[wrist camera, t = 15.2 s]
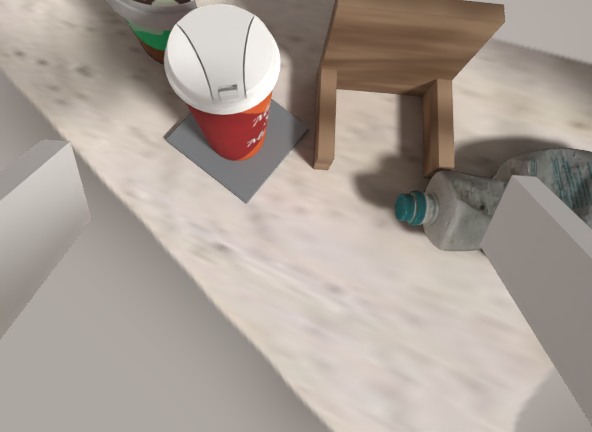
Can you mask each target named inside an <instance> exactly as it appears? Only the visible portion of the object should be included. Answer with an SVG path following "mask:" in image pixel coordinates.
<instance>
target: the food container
mask: <svg viewBox="0 0 592 432" xmlns="http://www.w3.org/2000/svg"><path fill="white" fill-rule="evenodd" d="M105 2H106V3H107V4H108V5H109V6H110V7H111V8H112V9H113V10H114V11H115V12H116V13H118V14H119V15H120V16H122V17H123V18H125V19H126V21H127V22H128V24H129V25H130V27H131V28H132V30H133V32H134V33H135V35H136V36H137V38H138V39H139V41H140V42H141V44H142V46H143V47H144V49H145V50H146V52H147V53H148V54H149V55H150V56H151V57H152V58H153V59H155V60H156V61H157V62H159V63H161V64H163V65H164V56H165V50H166V46H167V42H168V39H169V35H170V33H171V31H172V29H173V27H174V26H175V24H176V25H177V22H178V21H180V20H181V19H182V18H183V17H184V16H185V15H187V14H188V13H189V12H191V11H192V10H194V9H196V8H197V6H196V2H195V0H193V1H191V0H105Z"/></svg>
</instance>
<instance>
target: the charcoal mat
mask: <svg viewBox="0 0 592 432" xmlns="http://www.w3.org/2000/svg"><path fill="white" fill-rule="evenodd" d="M308 128H309V127H308V126H306V125H305V124H304V123H302V122H301V121H300V120H299V119H297V118H296V117H295V116H293V115H292V114H291V113H289V112H288V111H287V110H285V109H284V108H283V107H282V106H280V105H279V104H278V103H276V102H275V101H274V100H272V99H271V103H270V110H269V116H268V123H267V129H266V134H265V139H264V142H263V145H262V147H261V148H260V150H259V151H258V152H257V153H256V154H255V155H254V156H252V157H251V158H249V159H246V160H242V161H231V160H227V159H225V158H223V157H221V156H220V155H218V154H217V153H216V152H215V151H214V150H213V148H212V147H211V145H210V144H209V142H208V141H207V139H206V137H205V136H204V134H203V132H202V130H201V129H200V127H199V125H198V123H197V122H196V120H195V118H194V116H193V115H192V113H190V114H189V115H188V117H187V118H186V119H185V120H184V121H183V122H182V123H181V124H180V125H179V126H178V127H177V128H176V130H175V131H174V132H173V133H172V134H171V135H170V136H169V137H168V138H167V139H166V140H167V142H168V143H169V144H171V145H172V146H173V147H175V148H176V149H177V150H178V151H180V152H181V153H182V154H184V155H185V156H186V157H187V158H189V159H190V160H191V161H192V162H194V163H195V164H196V165H198V166H199V167H200V168H201V169H203V170H204V171H205V172H207V173H208V174H209V175H210V176H212V177H213V178H214V179H215V180H217V181H218V182H219V183H221V184H222V185H223V186H224V187H226V188H227V189H228V190H229V191H231V192H232V193H233V194H235V195H236V196H237V197H238V198H240V199H241V200H242V201H244V202H245V203H246V204H247V202H248V201H249V200H250V199H251V198H252V196H253V195H254V194H255V193H256V192H257V190H258V189H259V188H260V187H261V186H262V184H263V183H264V182H265V181H266V180H267V178H268V177H269V176H270V175H271V174H272V172H273V171H274V170H275V169H276V168H277V166H278V165H279V164H280V163H281V162H282V160H283V159H284V158H285V157H286V156H287V154H288V153H289V152H290V151H291V150H292V148H293V147H294V146H295V145H296V144H297V142H298V141H299V140H300V139H301V138H302V136H303V135H304V134H305V133H306V132H307V130H308Z"/></svg>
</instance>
